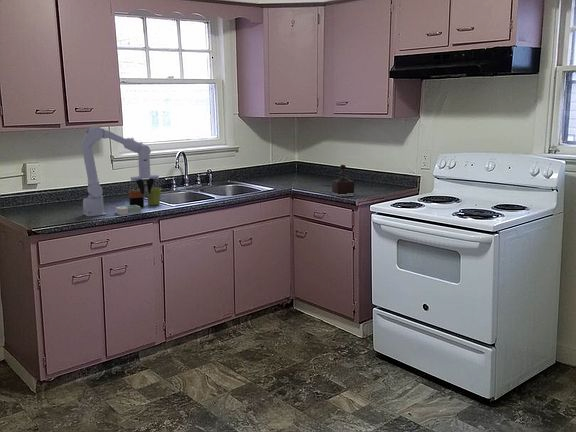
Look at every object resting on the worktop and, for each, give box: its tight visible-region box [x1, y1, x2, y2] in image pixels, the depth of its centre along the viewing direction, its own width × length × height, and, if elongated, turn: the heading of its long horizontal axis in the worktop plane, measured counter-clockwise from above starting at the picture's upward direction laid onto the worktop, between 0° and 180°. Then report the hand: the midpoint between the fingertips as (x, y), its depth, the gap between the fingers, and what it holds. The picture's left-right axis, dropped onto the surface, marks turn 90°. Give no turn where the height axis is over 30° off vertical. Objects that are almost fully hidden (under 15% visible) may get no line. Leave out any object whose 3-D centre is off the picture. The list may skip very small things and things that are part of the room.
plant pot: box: [146, 187, 163, 206], centre depth 324 cm, size 9×9×9 cm
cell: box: [143, 182, 149, 199], centre depth 305 cm, size 3×3×8 cm
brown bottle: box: [331, 164, 355, 194], centre depth 355 cm, size 16×11×18 cm
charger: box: [114, 204, 143, 216], centre depth 301 cm, size 11×8×3 cm
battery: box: [128, 188, 145, 209], centre depth 315 cm, size 4×7×10 cm, turn 119°
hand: (145, 193), depth 306 cm, fingers closed on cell, 3 cm apart
